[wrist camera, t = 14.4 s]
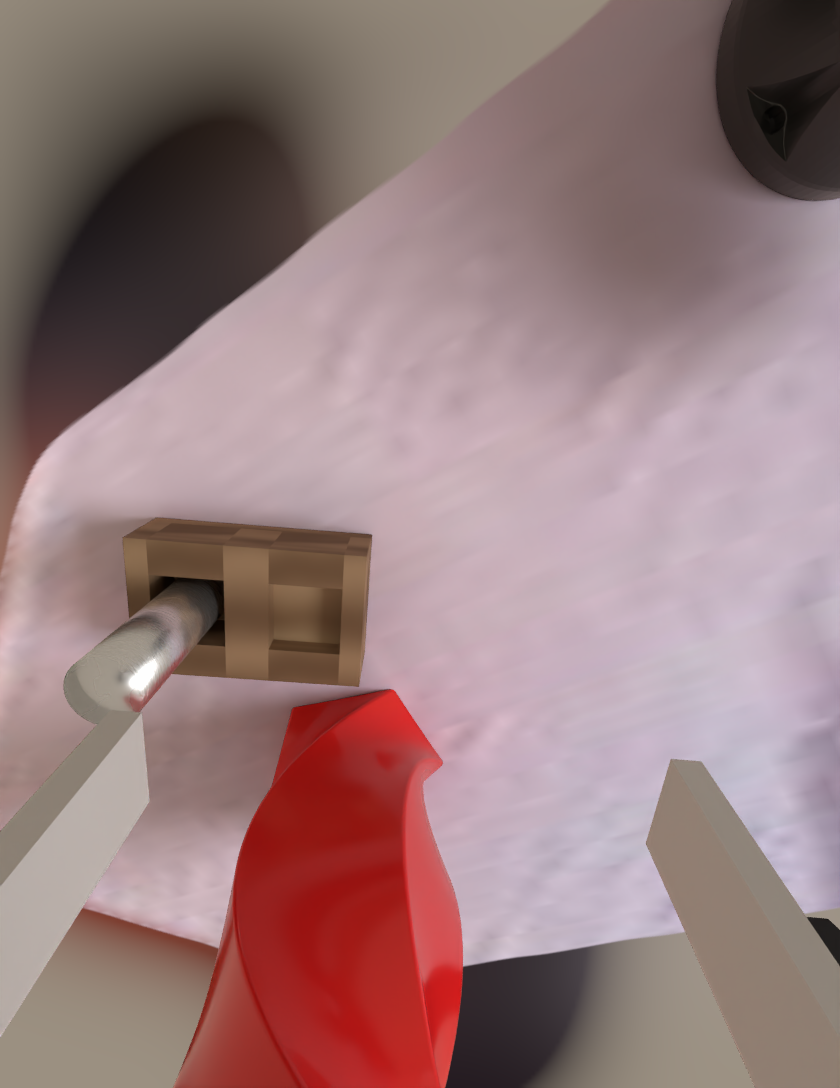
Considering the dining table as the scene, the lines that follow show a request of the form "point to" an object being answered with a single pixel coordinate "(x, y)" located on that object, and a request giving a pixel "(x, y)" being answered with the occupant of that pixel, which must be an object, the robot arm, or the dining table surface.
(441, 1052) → the vase
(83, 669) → the pin
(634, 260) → the dining table surface
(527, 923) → the dining table surface
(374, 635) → the dining table surface
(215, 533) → the block
